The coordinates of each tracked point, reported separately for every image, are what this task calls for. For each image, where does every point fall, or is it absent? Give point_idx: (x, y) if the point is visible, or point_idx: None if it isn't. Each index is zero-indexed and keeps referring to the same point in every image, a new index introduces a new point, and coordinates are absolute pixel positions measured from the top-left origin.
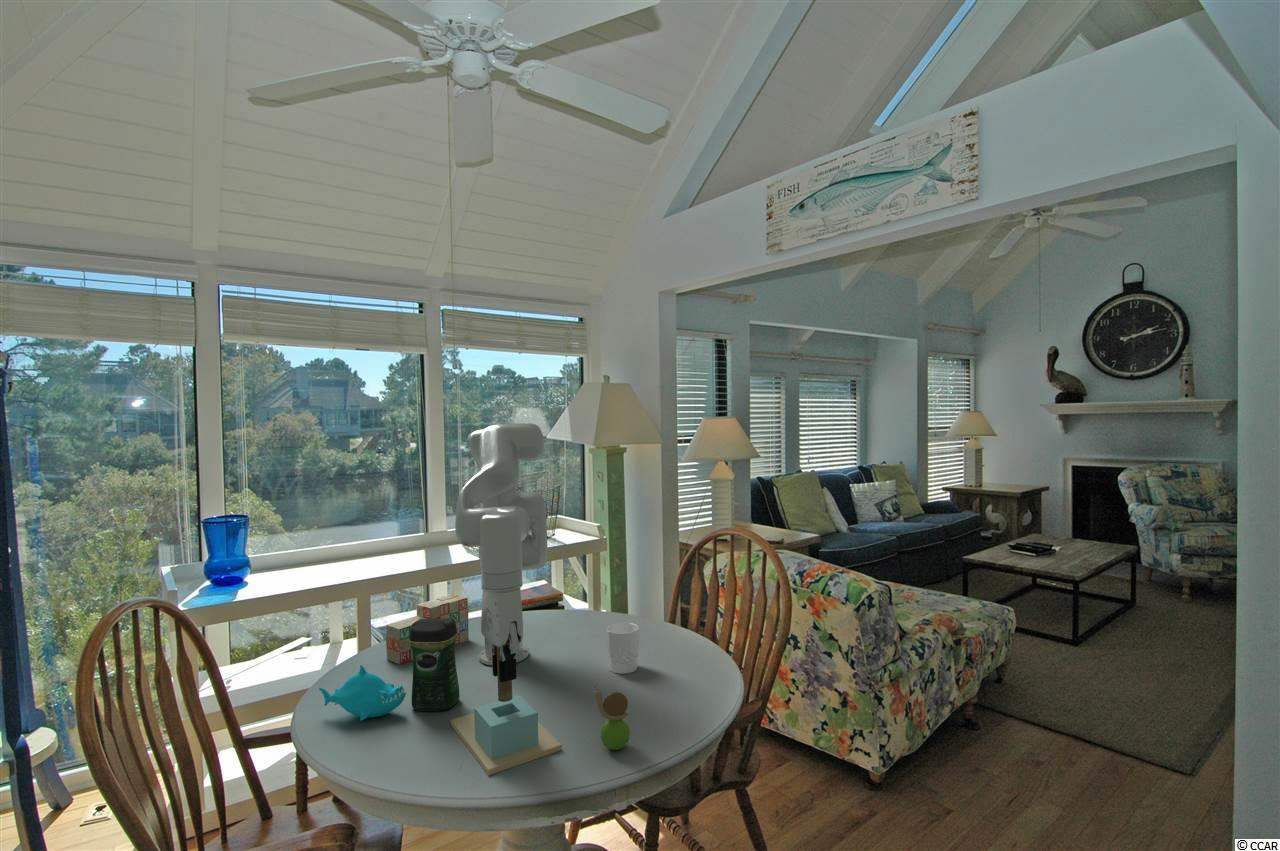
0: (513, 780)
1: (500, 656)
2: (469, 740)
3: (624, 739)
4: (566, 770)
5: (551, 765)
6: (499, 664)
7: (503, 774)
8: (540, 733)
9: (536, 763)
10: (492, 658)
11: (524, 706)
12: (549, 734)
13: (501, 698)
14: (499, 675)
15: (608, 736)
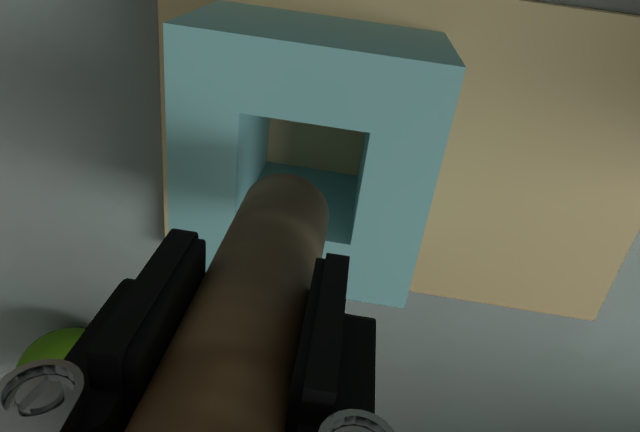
0: (79, 13)
1: (64, 405)
2: (453, 5)
3: None
4: (48, 184)
5: (102, 167)
6: (110, 325)
7: (140, 4)
8: None
9: (142, 138)
10: (331, 361)
11: None
12: None
13: (256, 186)
14: (163, 256)
15: (31, 351)
